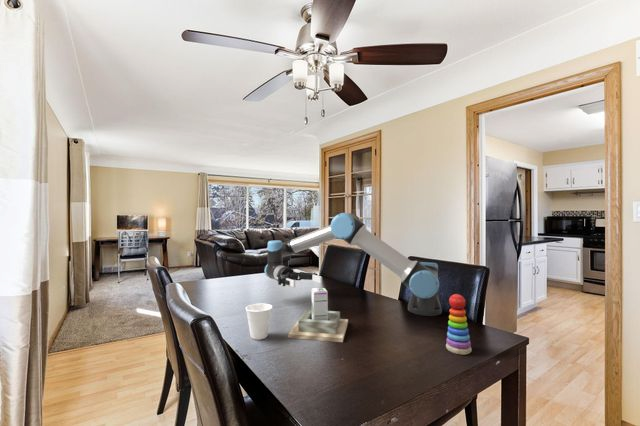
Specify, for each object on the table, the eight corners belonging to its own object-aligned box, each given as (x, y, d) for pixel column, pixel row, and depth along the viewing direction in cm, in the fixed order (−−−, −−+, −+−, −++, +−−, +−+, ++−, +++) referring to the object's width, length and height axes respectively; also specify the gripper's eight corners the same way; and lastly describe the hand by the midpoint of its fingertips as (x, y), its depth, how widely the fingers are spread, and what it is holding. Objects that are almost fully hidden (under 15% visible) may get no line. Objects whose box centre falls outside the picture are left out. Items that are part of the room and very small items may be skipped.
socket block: (347, 322, 131) (347, 309, 131) (342, 342, 111) (342, 326, 111) (301, 319, 134) (301, 307, 134) (288, 338, 115) (288, 323, 115)
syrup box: (328, 328, 120) (328, 290, 120) (313, 329, 119) (313, 291, 119) (325, 323, 126) (325, 287, 126) (310, 324, 125) (311, 287, 125)
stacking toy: (466, 345, 108) (466, 292, 108) (475, 356, 100) (475, 298, 100) (442, 344, 109) (443, 291, 109) (450, 355, 101) (450, 297, 101)
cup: (277, 333, 119) (277, 304, 119) (264, 344, 109) (264, 312, 109) (254, 330, 122) (254, 302, 122) (239, 340, 112) (240, 309, 113)
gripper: (306, 278, 157) (331, 286, 140) (260, 285, 143) (282, 295, 126) (306, 264, 157) (331, 269, 140) (260, 269, 143) (282, 276, 126)
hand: (308, 281), depth 133 cm, fingers open, 13 cm apart
